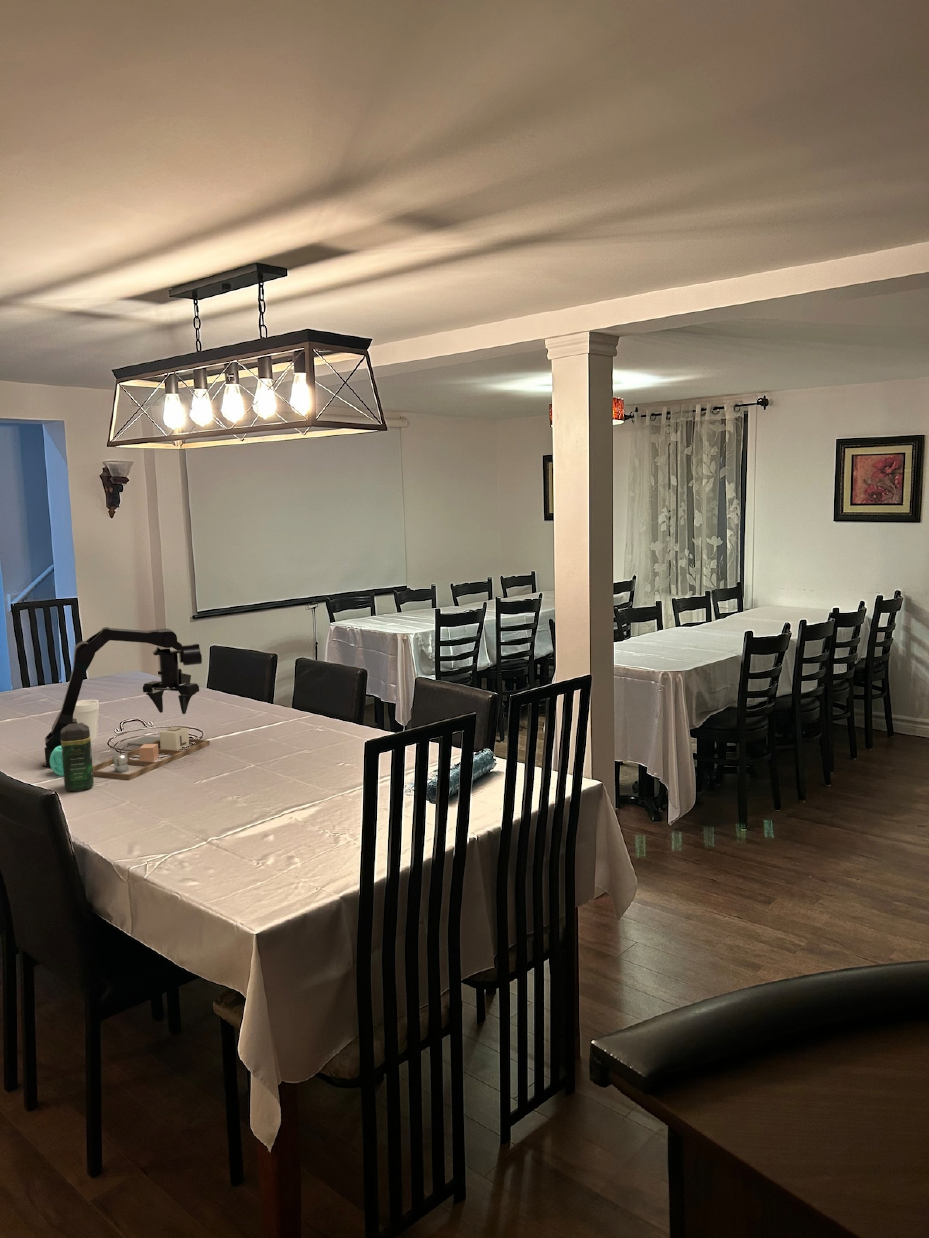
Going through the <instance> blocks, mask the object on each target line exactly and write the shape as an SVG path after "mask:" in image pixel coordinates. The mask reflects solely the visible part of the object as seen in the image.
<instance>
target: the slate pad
mask: <svg viewBox="0 0 929 1238" xmlns="http://www.w3.org/2000/svg"><path fill="white" fill-rule="evenodd" d="M158 740H160V736H150V735H148V736H147V735H144V736H141V737H139V738H136V739H135V740H132V741H131V740H130V741H129V742H128V741H127V744H126V745H129V746H139V747H141V746H142V745H144V744H150V743H153V742H155V741H158Z"/></svg>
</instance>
